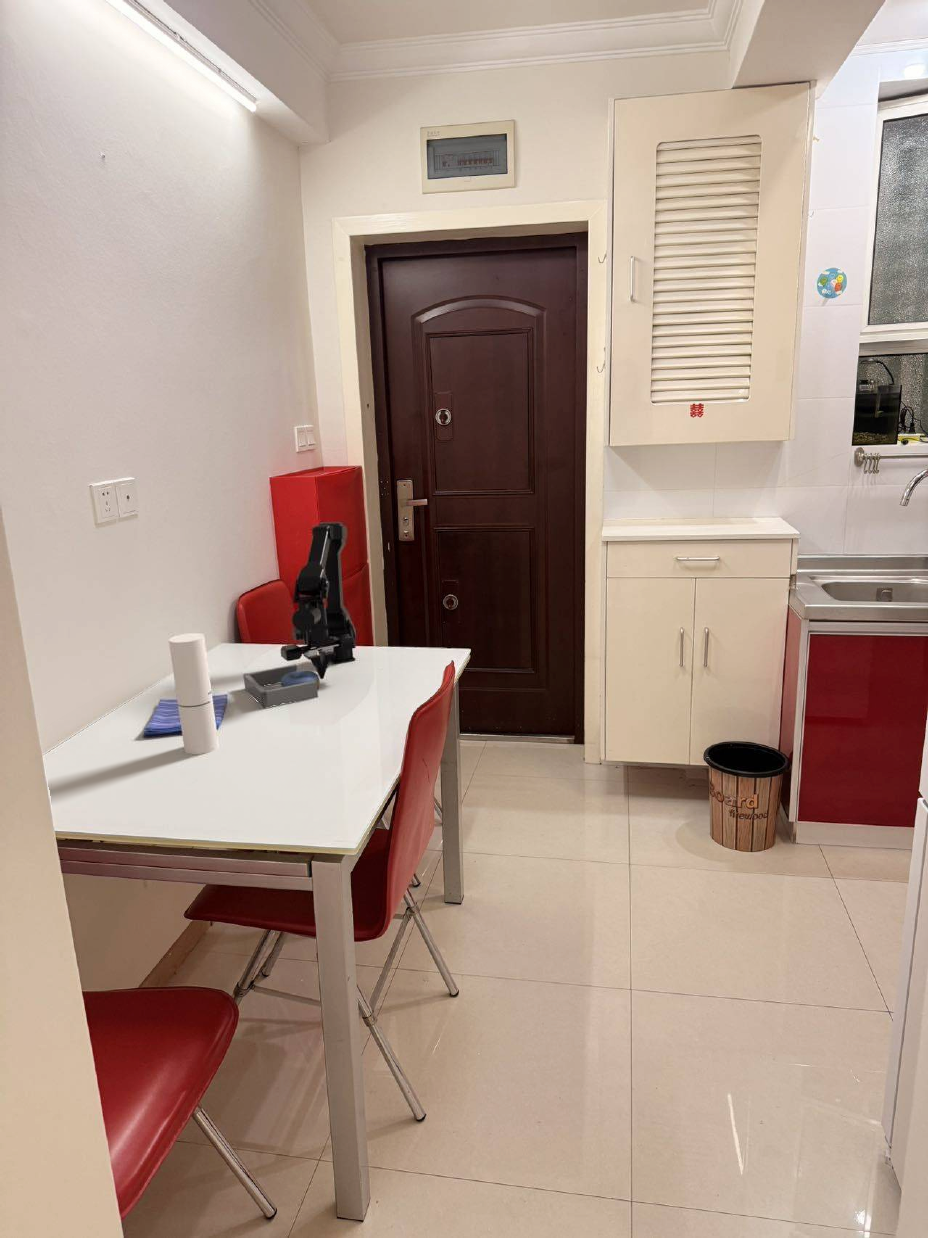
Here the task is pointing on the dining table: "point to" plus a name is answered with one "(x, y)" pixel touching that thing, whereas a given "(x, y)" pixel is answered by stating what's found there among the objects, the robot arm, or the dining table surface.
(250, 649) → the dining table surface
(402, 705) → the dining table surface
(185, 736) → the cylindrical container
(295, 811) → the dining table surface
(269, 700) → the box
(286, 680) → the doughnut
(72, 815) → the dining table surface
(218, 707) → the dish towel
